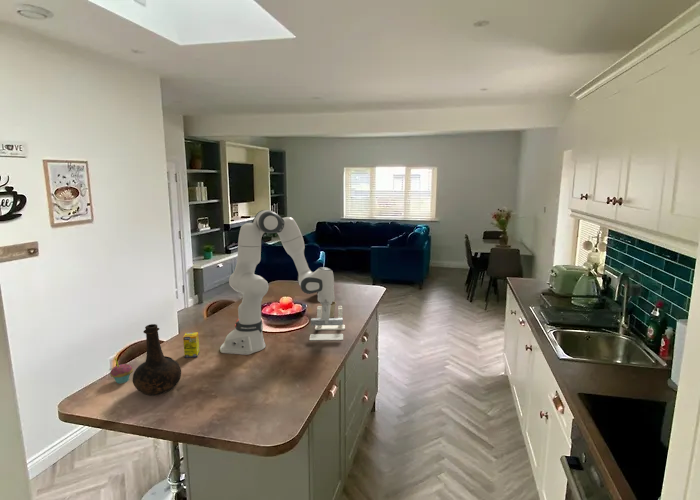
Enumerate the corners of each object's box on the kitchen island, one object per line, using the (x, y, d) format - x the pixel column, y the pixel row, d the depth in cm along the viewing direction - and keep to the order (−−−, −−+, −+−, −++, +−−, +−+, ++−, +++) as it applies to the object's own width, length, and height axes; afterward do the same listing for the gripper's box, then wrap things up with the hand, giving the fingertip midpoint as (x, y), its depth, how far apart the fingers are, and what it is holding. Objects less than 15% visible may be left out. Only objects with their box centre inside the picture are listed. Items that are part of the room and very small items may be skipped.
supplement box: (184, 358, 200) (182, 337, 198) (187, 353, 206) (185, 332, 204) (197, 357, 201) (195, 336, 199) (199, 352, 207) (198, 331, 205)
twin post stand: (315, 330, 236) (314, 309, 234) (315, 326, 242) (315, 305, 240) (344, 329, 236) (344, 308, 234) (344, 326, 242) (344, 305, 240)
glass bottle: (190, 381, 178) (185, 319, 173) (163, 403, 161) (156, 335, 156) (154, 377, 182) (148, 316, 177) (124, 398, 165) (116, 331, 160)
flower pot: (318, 317, 256) (318, 304, 255) (325, 313, 265) (324, 300, 263) (332, 319, 253) (332, 306, 251) (338, 315, 261) (338, 301, 260)
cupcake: (118, 387, 173) (115, 360, 171) (107, 382, 177) (103, 356, 175) (137, 379, 180) (135, 353, 178) (126, 374, 185) (123, 348, 182)
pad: (309, 340, 221) (309, 339, 221) (310, 334, 229) (310, 334, 229) (343, 340, 221) (343, 339, 221) (343, 334, 229) (343, 333, 229)
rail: (311, 325, 223) (310, 320, 222) (311, 323, 226) (311, 318, 225) (342, 325, 223) (342, 319, 222) (342, 323, 226) (342, 317, 225)
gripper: (331, 303, 211) (332, 329, 214) (332, 291, 231) (332, 315, 234) (319, 303, 211) (319, 329, 214) (321, 291, 231) (321, 315, 234)
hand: (326, 321), depth 224 cm, fingers closed on rail, 3 cm apart
